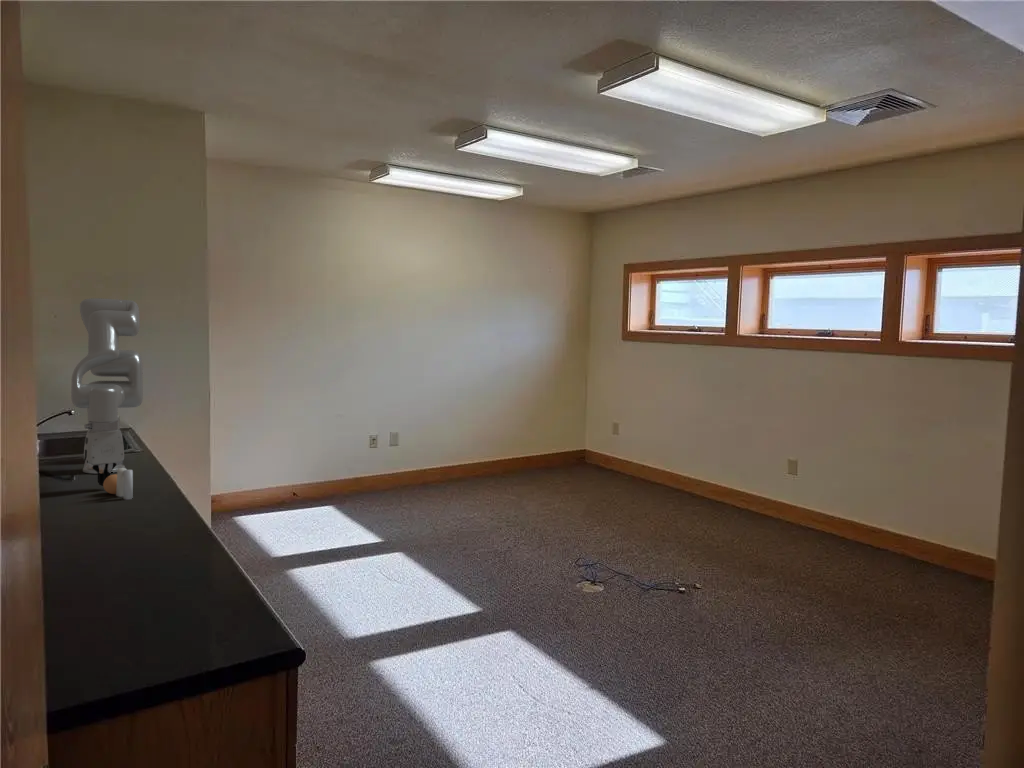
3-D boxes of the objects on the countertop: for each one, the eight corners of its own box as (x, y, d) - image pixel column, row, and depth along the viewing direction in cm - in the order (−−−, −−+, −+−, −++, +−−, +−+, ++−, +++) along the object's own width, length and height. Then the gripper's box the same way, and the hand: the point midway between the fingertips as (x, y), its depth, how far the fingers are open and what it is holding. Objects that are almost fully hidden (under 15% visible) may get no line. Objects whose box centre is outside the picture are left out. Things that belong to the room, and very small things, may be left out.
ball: (113, 479, 198) (112, 498, 199) (131, 474, 204) (130, 493, 205) (98, 474, 200) (98, 493, 201) (117, 470, 206) (116, 488, 207)
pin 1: (115, 493, 201) (116, 468, 198) (124, 492, 203) (125, 467, 200) (116, 497, 199) (118, 472, 197) (125, 496, 201) (127, 471, 198)
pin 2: (122, 498, 198) (122, 470, 198) (132, 497, 200) (131, 469, 199) (124, 499, 197) (124, 471, 196) (133, 498, 198) (133, 470, 197)
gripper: (82, 430, 198) (82, 491, 199) (134, 425, 210) (134, 483, 211) (71, 427, 202) (71, 486, 204) (123, 423, 214) (123, 479, 216)
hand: (103, 484), depth 207 cm, fingers closed
